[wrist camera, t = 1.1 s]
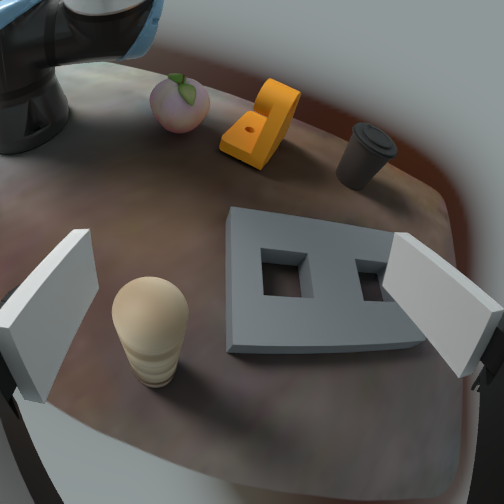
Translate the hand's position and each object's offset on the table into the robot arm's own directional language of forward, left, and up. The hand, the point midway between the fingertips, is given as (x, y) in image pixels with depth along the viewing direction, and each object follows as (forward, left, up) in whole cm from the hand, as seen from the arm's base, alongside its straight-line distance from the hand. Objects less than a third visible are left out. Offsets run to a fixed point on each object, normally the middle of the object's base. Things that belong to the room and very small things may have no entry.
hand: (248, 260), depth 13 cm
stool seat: (-9, +15, -20) cm, 27 cm away
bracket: (-33, +7, -20) cm, 40 cm away
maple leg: (+1, -4, -20) cm, 20 cm away
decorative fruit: (-34, -5, -20) cm, 40 cm away
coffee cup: (-30, +24, -20) cm, 44 cm away
